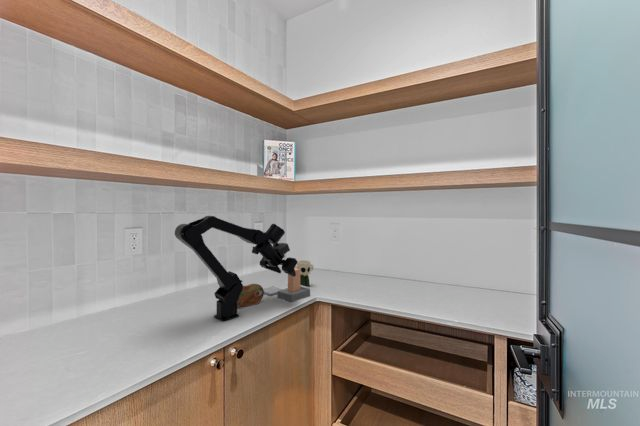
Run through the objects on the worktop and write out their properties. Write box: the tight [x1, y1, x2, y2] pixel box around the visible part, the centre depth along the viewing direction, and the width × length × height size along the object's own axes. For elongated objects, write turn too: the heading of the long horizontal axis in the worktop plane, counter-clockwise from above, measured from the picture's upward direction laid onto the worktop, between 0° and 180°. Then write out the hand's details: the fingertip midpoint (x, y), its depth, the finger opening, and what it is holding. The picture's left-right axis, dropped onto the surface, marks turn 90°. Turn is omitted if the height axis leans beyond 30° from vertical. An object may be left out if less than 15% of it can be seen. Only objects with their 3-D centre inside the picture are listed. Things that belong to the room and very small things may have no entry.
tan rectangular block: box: [287, 268, 300, 292], centre depth 125 cm, size 4×4×12 cm
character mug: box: [294, 260, 314, 287], centre depth 141 cm, size 11×7×13 cm, turn 118°
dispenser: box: [276, 285, 311, 303], centre depth 125 cm, size 12×9×4 cm
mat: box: [263, 285, 284, 297], centre depth 131 cm, size 9×9×1 cm
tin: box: [237, 283, 265, 309], centre depth 113 cm, size 15×3×8 cm, turn 129°
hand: (287, 274), depth 121 cm, fingers open, 9 cm apart
